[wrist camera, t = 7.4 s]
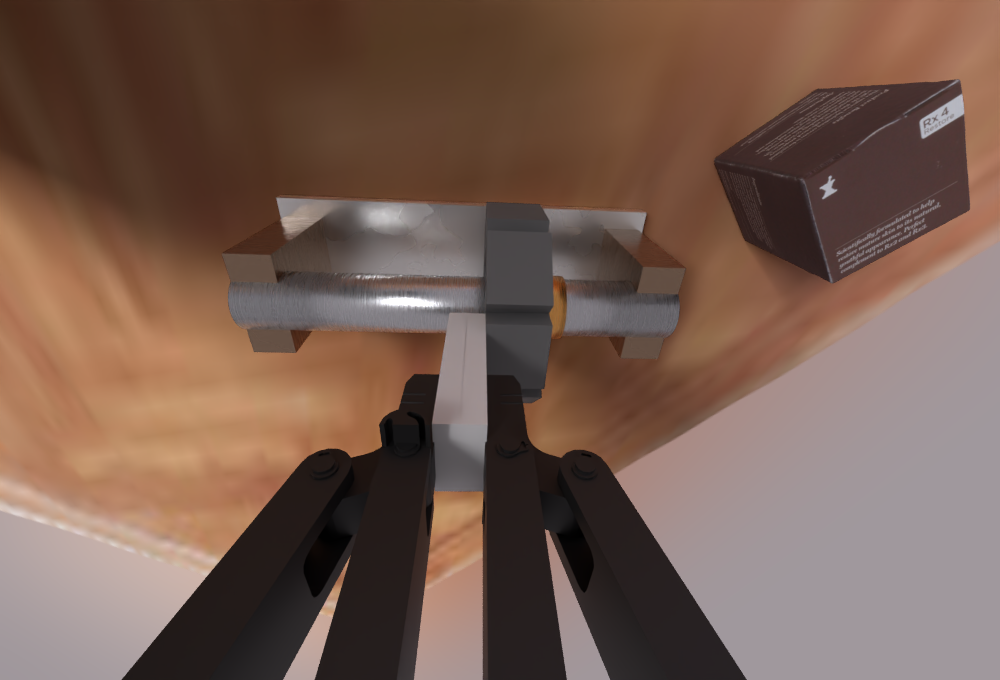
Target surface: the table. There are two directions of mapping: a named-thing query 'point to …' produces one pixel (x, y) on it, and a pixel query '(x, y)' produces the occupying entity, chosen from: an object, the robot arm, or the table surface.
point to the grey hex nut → (518, 294)
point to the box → (851, 174)
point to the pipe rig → (441, 272)
